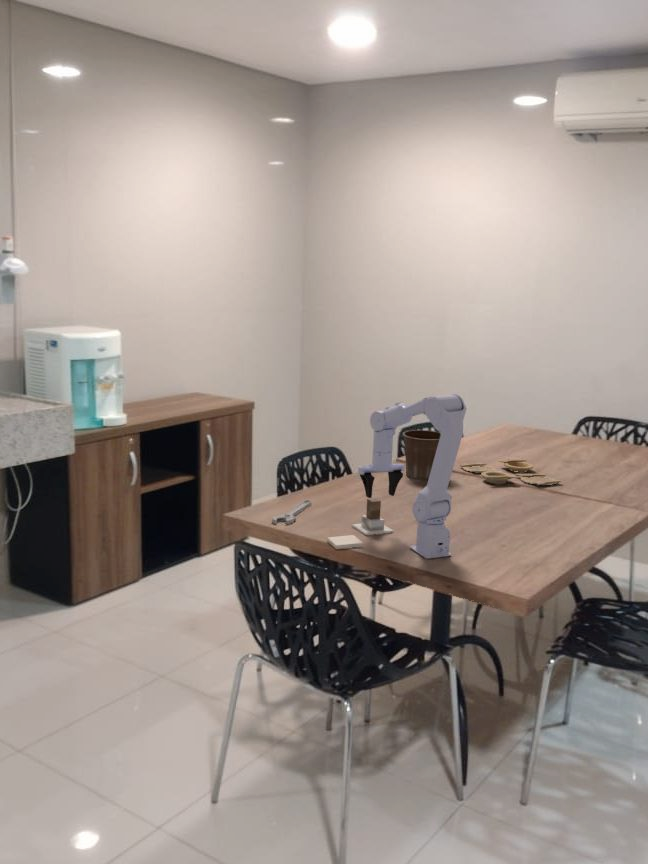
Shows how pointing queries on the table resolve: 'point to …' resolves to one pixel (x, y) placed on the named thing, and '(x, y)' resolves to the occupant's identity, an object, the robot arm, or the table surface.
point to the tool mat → (368, 532)
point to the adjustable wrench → (291, 513)
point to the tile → (344, 542)
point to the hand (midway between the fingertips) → (380, 496)
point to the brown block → (373, 516)
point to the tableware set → (502, 478)
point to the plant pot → (420, 452)
